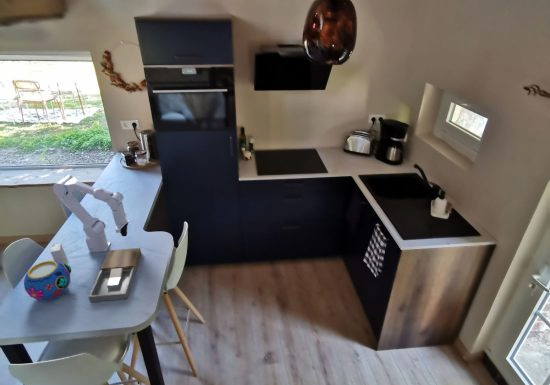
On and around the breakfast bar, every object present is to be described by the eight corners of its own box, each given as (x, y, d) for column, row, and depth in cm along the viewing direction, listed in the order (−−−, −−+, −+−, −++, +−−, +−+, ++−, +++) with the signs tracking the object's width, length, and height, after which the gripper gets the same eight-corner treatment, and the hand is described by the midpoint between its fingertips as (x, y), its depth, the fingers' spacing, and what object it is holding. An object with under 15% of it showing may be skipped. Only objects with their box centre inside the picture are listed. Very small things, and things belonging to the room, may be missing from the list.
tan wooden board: (102, 274, 167) (100, 268, 165) (110, 256, 179) (108, 250, 177) (135, 271, 169) (134, 265, 167) (141, 253, 181) (140, 248, 179)
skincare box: (67, 268, 171) (60, 250, 165) (57, 270, 169) (50, 252, 163) (68, 261, 175) (61, 242, 169) (58, 263, 174) (51, 245, 168)
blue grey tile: (109, 278, 162) (110, 281, 163) (106, 285, 158) (107, 288, 159) (120, 277, 162) (121, 280, 163) (117, 284, 158) (118, 287, 159)
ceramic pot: (70, 303, 151) (60, 278, 144) (25, 311, 147) (12, 287, 139) (78, 276, 166) (69, 253, 158) (37, 283, 161) (26, 260, 154)
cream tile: (110, 279, 163) (109, 278, 162) (112, 270, 167) (111, 268, 165) (121, 279, 164) (120, 277, 163) (122, 269, 167) (121, 267, 166)
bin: (90, 302, 152) (88, 296, 150) (102, 274, 167) (100, 269, 165) (127, 299, 154) (125, 293, 152) (135, 271, 169) (134, 266, 167)
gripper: (123, 222, 167) (129, 243, 174) (130, 206, 180) (135, 227, 187) (109, 223, 166) (115, 244, 173) (116, 207, 179) (122, 227, 186)
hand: (124, 235), depth 180 cm, fingers closed
